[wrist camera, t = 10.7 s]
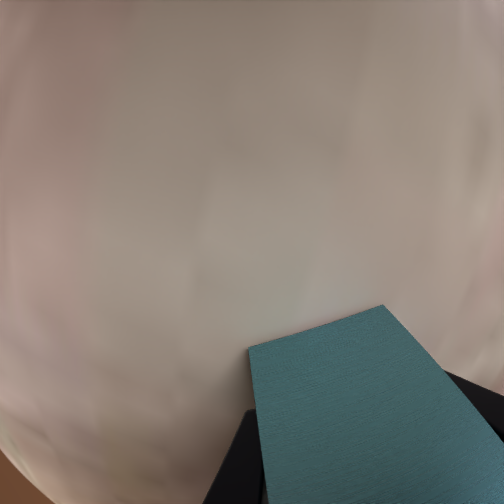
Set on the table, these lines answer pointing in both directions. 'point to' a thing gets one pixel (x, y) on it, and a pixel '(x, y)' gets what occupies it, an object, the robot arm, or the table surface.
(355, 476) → the blade tool
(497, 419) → the robot arm
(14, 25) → the table surface
